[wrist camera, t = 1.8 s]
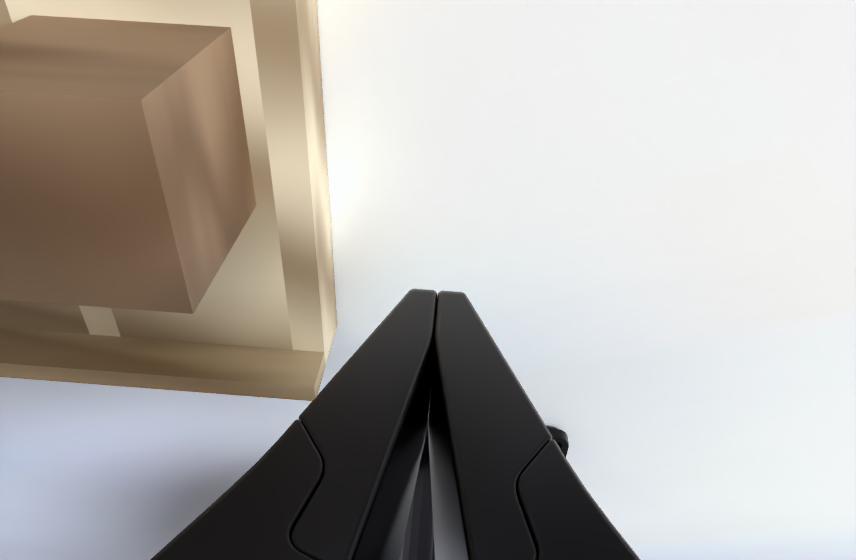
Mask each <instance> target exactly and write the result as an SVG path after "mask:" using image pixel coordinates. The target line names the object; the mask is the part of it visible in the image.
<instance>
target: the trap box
mask: <svg viewBox="0 0 856 560" xmlns="http://www.w3.org/2000/svg"><path fill="white" fill-rule="evenodd" d="M30 15H38V16H55V17H71V18H88V19H104V20H121V21H137V22H153V23H170V24H186V25H203V26H219V27H231V33H232V40H233V46H234V53H235V60H236V67H237V74H238V81H239V88H240V95H241V102H242V109H243V116H244V123H245V130H246V137H247V144H248V150H249V157H250V164H251V171H252V178H253V185H254V192H255V199H256V207H255V209H254V210H253V212H252V214H251V216H250V217H249V219H248V221H247V222H246V224H245V226H244V228H243V229H242V231H241V233H240V234H239V236H238V238H237V240H236V241H235V243H234V245H233V246H232V248H231V250H230V251H229V253H228V255H227V257H226V258H225V260H224V262H223V263H222V265H221V267H220V269H219V270H218V272H217V274H216V275H215V277H214V279H213V281H212V282H211V284H210V286H209V287H208V289H207V291H206V293H205V294H204V296H203V298H202V299H201V301H200V303H199V305H198V306H197V308H196V310H195V311H194V313H193V314H188V313H174V312H161V311H147V310H134V309H120V308H107V307H93V306H80V305H66V304H53V303H39V302H26V301H12V300H0V377H11V378H24V379H37V380H50V381H63V382H76V383H88V384H101V385H114V386H127V387H140V388H153V389H166V390H179V391H191V392H204V393H217V394H230V395H243V396H256V397H269V398H282V399H294V400H307V401H313V400H314V399H315V398H316V397H317V394H318V391H319V387H320V384H321V380H322V377H323V373H324V369H325V366H326V362H327V359H328V355H329V352H330V348H331V345H332V341H333V338H334V334H335V330H336V327H337V317H336V301H335V285H334V269H333V253H332V237H331V221H330V206H329V190H328V174H327V158H326V142H325V126H324V110H323V94H322V78H321V63H320V47H319V31H318V15H317V0H0V28H2V27H4V26H6V25H9V24H11V23H14V22H16V21H18V20H21V19H23V18H25V17H28V16H30Z"/></svg>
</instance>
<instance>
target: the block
mask: <svg viewBox="0 0 856 560" xmlns="http://www.w3.org/2000/svg"><path fill="white" fill-rule="evenodd" d="M255 207H256V199H255V192H254V185H253V178H252V171H251V164H250V157H249V150H248V144H247V137H246V130H245V123H244V116H243V109H242V102H241V95H240V88H239V81H238V74H237V67H236V60H235V53H234V46H233V40H232V33H231V27H219V26H203V25H186V24H170V23H153V22H137V21H121V20H104V19H88V18H71V17H55V16H38V15H30V16H28V17H25V18H23V19H21V20H18V21H16V22H14V23H11V24H9V25H6V26H4V27H2V28H0V300H12V301H26V302H39V303H53V304H66V305H80V306H93V307H107V308H120V309H134V310H147V311H161V312H174V313H188V314H193V313H194V311H195V310H196V308H197V306H198V305H199V303H200V301H201V299H202V298H203V296H204V294H205V293H206V291H207V289H208V287H209V286H210V284H211V282H212V281H213V279H214V277H215V275H216V274H217V272H218V270H219V269H220V267H221V265H222V263H223V262H224V260H225V258H226V257H227V255H228V253H229V251H230V250H231V248H232V246H233V245H234V243H235V241H236V240H237V238H238V236H239V234H240V233H241V231H242V229H243V228H244V226H245V224H246V222H247V221H248V219H249V217H250V216H251V214H252V212H253V210H254V209H255Z"/></svg>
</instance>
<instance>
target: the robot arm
mask: <svg viewBox="0 0 856 560" xmlns="http://www.w3.org/2000/svg"><path fill="white" fill-rule="evenodd" d="M429 404H430V407H429ZM428 416H429V419H428ZM568 447H569V446H568V437H567V434H566V433H565V432H564V431H562V430H559V429H550V428H547V427H546V425H545V424H544V422H543V420H542V419H541V417H540V416H539V414H538V412H537V411H536V409H535V407H534V406H533V404H532V402H531V401H530V399H529V398H528V396H527V394H526V393H525V391H524V389H523V388H522V386H521V384H520V383H519V381H518V380H517V378H516V376H515V375H514V373H513V371H512V370H511V368H510V366H509V365H508V363H507V361H506V360H505V358H504V357H503V355H502V353H501V352H500V350H499V348H498V347H497V345H496V343H495V342H494V340H493V339H492V337H491V335H490V334H489V332H488V330H487V329H486V327H485V325H484V324H483V322H482V321H481V319H480V317H479V316H478V314H477V312H476V311H475V309H474V307H473V306H472V304H471V302H470V301H469V299H468V298H467V296H466V295H465V294H464V293H462V292H452V291H440V292H439V293H438V296H437V293H436V291H434V290H424V289H412V290H410V291H409V292H408V293H407V294H406V295H405V296H404V298H403V299H402V300H401V301H400V302H399V303H398V304H397V306H396V307H395V308H394V309H393V310H392V311H391V312H390V313H389V315H388V316H387V317H386V318H385V319H384V320H383V321H382V323H381V324H380V325H379V326H378V327H377V328H376V329H375V331H374V332H373V333H372V334H371V335H370V336H369V337H368V339H367V340H366V341H365V342H364V343H363V344H362V345H361V347H360V348H359V349H358V350H357V351H356V352H355V353H354V354H353V356H352V357H351V358H350V359H349V360H348V361H347V362H346V364H345V365H344V366H343V367H342V368H341V369H340V370H339V372H338V373H337V374H336V375H335V376H334V377H333V378H332V380H331V381H330V382H329V383H328V384H327V385H326V386H325V388H324V389H323V390H322V391H321V392H320V393H319V394H318V395H317V397H316V398H315V399H314V400H313V401H312V402H311V403H310V405H309V406H308V407H307V408H306V409H305V410H304V411H303V413H302V414H301V415H300V416H299V420H295V421H294V422H293V424H292V425H291V426H290V427H289V428H288V429H287V430H286V432H285V433H284V434H283V435H282V436H281V437H280V438H279V439H278V441H277V442H276V443H275V444H274V445H273V446H272V447H271V448H270V449H269V450H268V451H267V452H266V453H265V454H264V455H263V457H262V458H261V459H260V460H259V461H258V462H257V463H256V464H255V465H254V466H253V467H252V468H251V469H249V470H248V471H247V472H246V473H245V474H244V475H243V476H242V477H241V478H240V479H239V480H238V481H237V482H236V483H235V484H234V485H233V486H232V487H230V488H229V489H228V490H227V491H226V492H225V493H224V494H223V495H222V496H221V497H219V498H218V499H217V500H216V501H215V502H214V503H213V504H212V505H211V506H209V507H208V508H207V509H206V510H205V511H204V512H203V513H202V514H201V515H199V516H198V517H197V518H196V519H195V520H194V521H193V522H192V523H191V524H189V525H188V526H187V527H186V528H185V529H184V530H183V531H182V532H181V533H179V534H178V535H177V536H176V537H175V538H174V539H173V540H172V541H171V542H169V543H168V544H167V545H166V546H165V547H164V548H163V549H162V550H161V551H159V552H158V553H157V554H156V555H155V556H154V557H153V558H152V559H150V560H640V559H639V557H638V556H637V555H636V554H635V552H634V551H633V550H632V549H631V547H630V546H629V545H628V543H627V542H626V541H625V540H624V538H623V537H622V536H621V535H620V533H619V532H618V531H617V530H616V528H615V527H614V526H613V524H612V523H611V522H610V521H609V519H608V518H607V517H606V515H605V514H604V513H603V511H602V510H601V509H600V507H599V506H598V505H597V503H596V502H595V501H594V499H593V498H592V497H591V495H590V494H589V493H588V491H587V490H586V488H585V487H584V485H583V484H582V482H581V481H580V479H579V478H578V476H577V475H576V473H575V472H574V470H573V469H572V467H571V466H570V464H569V463H568V461H567V460H566V454H567V451H568Z"/></svg>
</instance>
